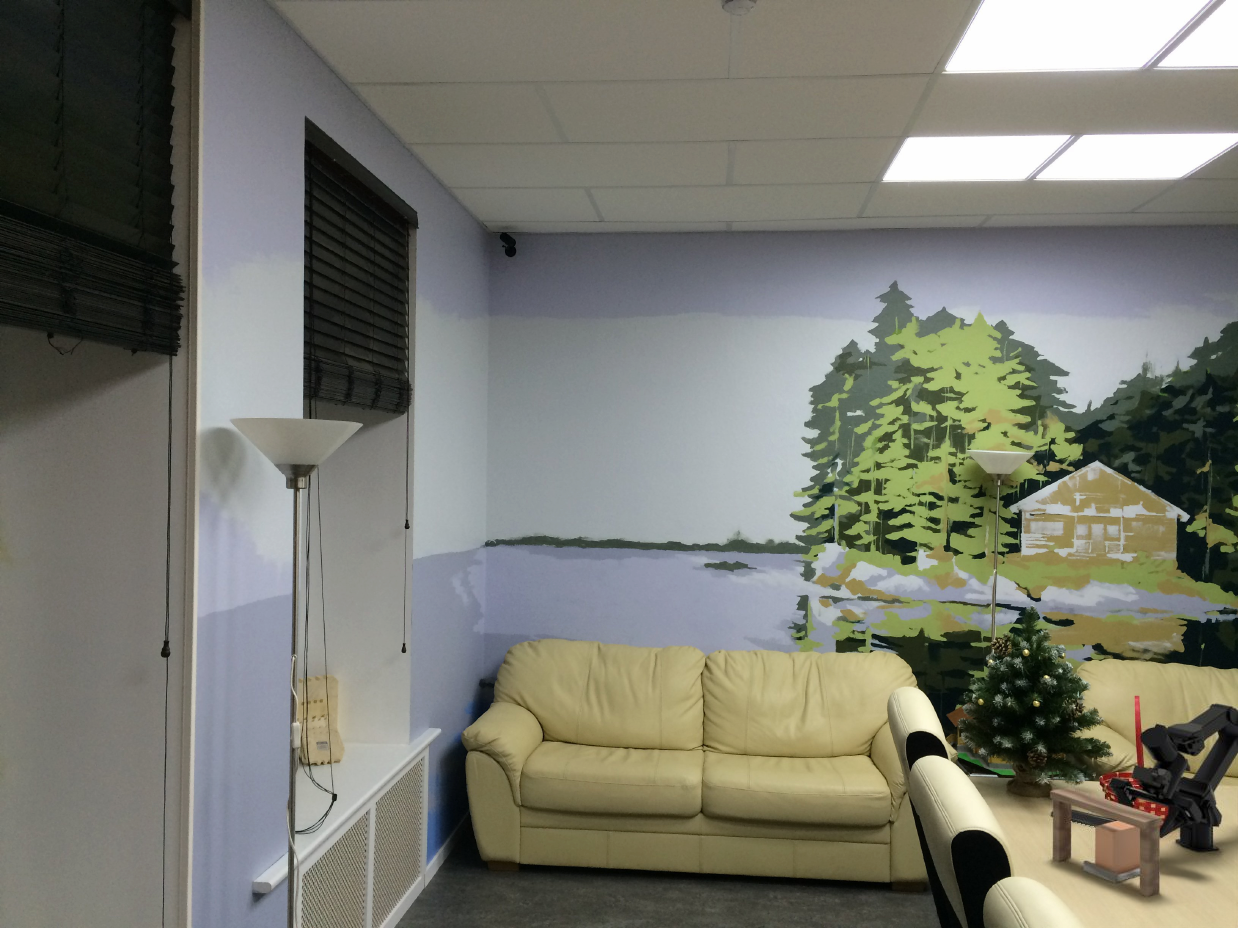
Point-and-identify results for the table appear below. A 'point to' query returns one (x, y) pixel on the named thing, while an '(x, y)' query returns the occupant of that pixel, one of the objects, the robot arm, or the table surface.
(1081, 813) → the phone
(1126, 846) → the terracotta panel
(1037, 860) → the table surface
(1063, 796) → the walnut bridge
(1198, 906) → the table surface
